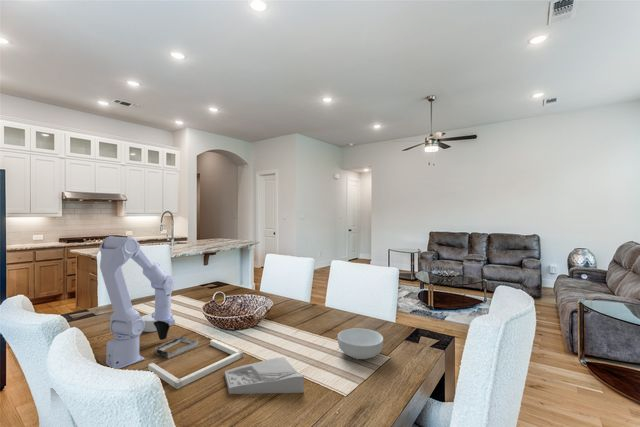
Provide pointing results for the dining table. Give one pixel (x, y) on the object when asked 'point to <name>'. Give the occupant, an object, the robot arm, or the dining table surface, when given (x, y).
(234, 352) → the trivet frame
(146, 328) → the ramekin
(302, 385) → the door stopper
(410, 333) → the dining table surface
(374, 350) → the cereal bowl
